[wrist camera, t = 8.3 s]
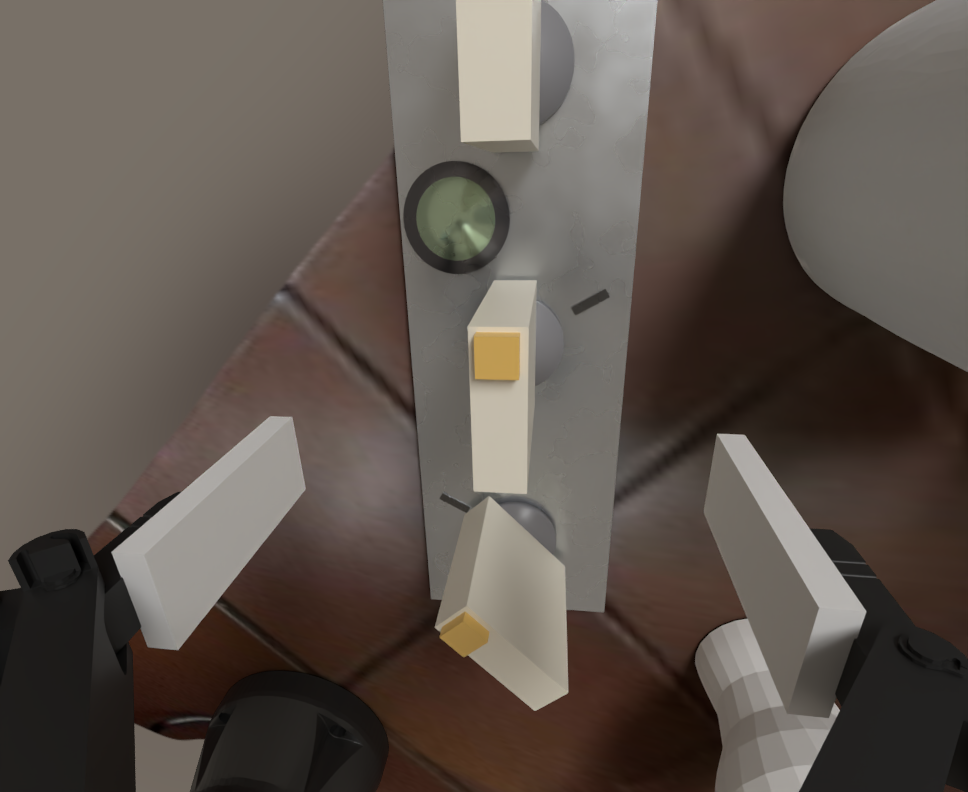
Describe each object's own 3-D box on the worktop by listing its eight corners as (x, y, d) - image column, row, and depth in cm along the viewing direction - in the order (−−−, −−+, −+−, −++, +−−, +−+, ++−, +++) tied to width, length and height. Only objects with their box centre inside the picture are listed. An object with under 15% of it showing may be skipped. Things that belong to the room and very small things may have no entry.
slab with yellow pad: (523, 588, 35) (512, 734, 26) (449, 522, 34) (410, 651, 25) (582, 549, 34) (593, 691, 24) (507, 477, 32) (488, 599, 23)
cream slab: (462, 154, 25) (410, 142, 16) (456, -24, 23) (388, -159, 13) (570, 150, 25) (580, 136, 16) (577, -33, 22) (594, -181, 13)
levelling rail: (433, 590, 38) (429, 605, 36) (381, -82, 23) (370, -97, 22) (603, 603, 36) (604, 619, 35) (663, -106, 21) (670, -124, 20)
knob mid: (471, 399, 30) (434, 497, 21) (467, 278, 28) (423, 330, 18) (561, 402, 30) (564, 504, 21) (566, 278, 27) (571, 332, 18)
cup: (680, 714, 39) (746, 1002, 26) (666, 606, 36) (736, 876, 22) (834, 708, 37) (997, 1019, 24) (838, 593, 34) (1034, 883, 20)
